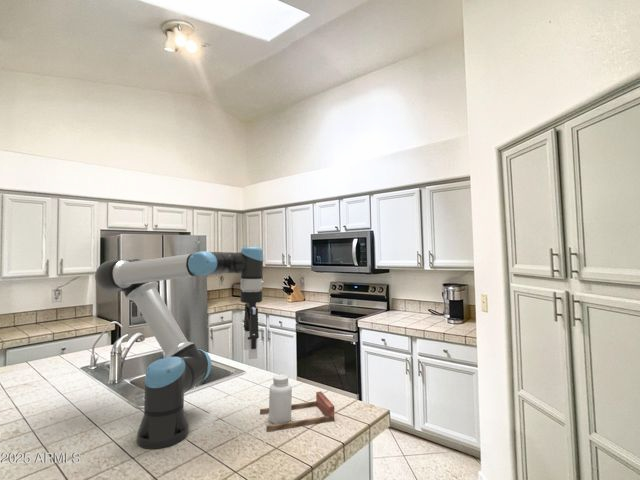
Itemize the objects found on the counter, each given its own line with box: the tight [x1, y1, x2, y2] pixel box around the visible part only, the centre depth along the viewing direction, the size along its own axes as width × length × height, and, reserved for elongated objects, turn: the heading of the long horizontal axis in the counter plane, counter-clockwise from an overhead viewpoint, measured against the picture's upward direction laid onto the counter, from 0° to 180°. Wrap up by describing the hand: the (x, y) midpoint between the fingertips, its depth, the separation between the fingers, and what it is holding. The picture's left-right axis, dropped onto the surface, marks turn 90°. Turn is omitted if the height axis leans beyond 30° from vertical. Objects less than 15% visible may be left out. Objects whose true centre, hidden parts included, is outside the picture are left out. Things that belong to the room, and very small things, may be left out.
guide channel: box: [259, 391, 335, 433], centre depth 123 cm, size 24×14×5 cm, turn 109°
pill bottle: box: [268, 373, 293, 425], centre depth 121 cm, size 8×8×15 cm
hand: (250, 353), depth 118 cm, fingers open, 11 cm apart
